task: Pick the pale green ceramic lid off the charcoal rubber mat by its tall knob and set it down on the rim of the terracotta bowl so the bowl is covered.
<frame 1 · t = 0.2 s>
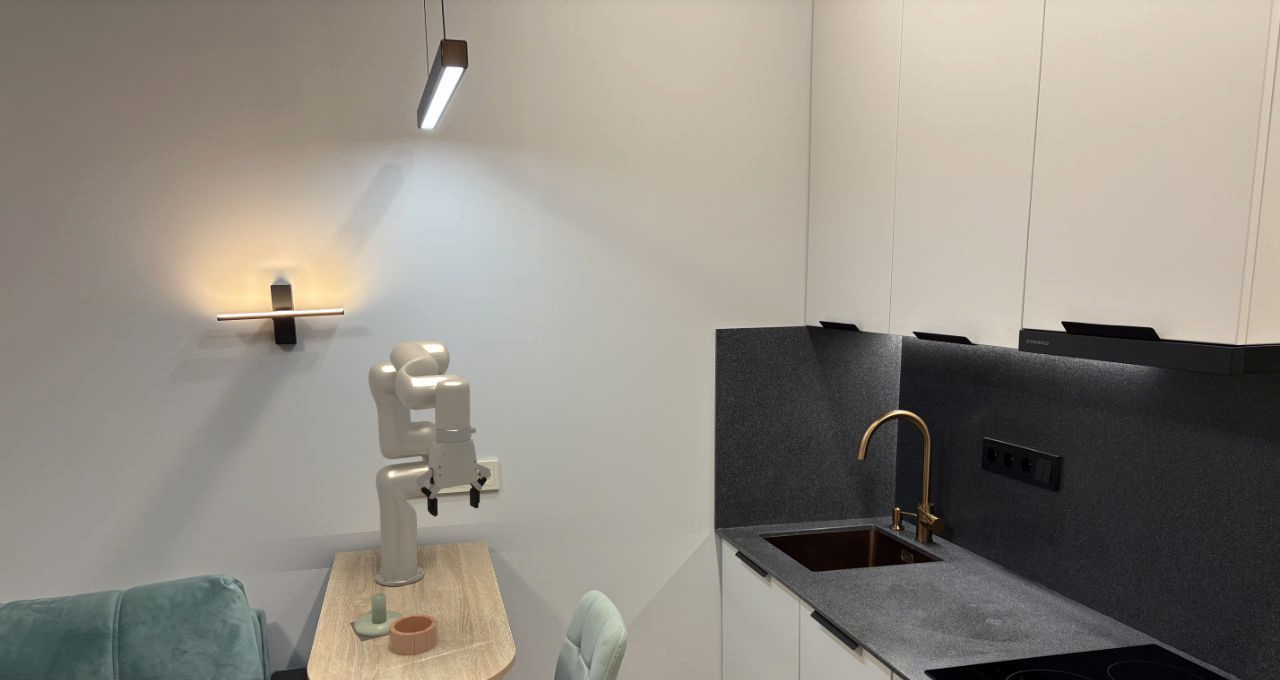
hand: (454, 510, 172), 30 cm above the table, fingers open, 9 cm apart
bowl: (413, 645, 173), on the table
mat: (379, 627, 182), on the table
lid: (379, 625, 181), resting on mat
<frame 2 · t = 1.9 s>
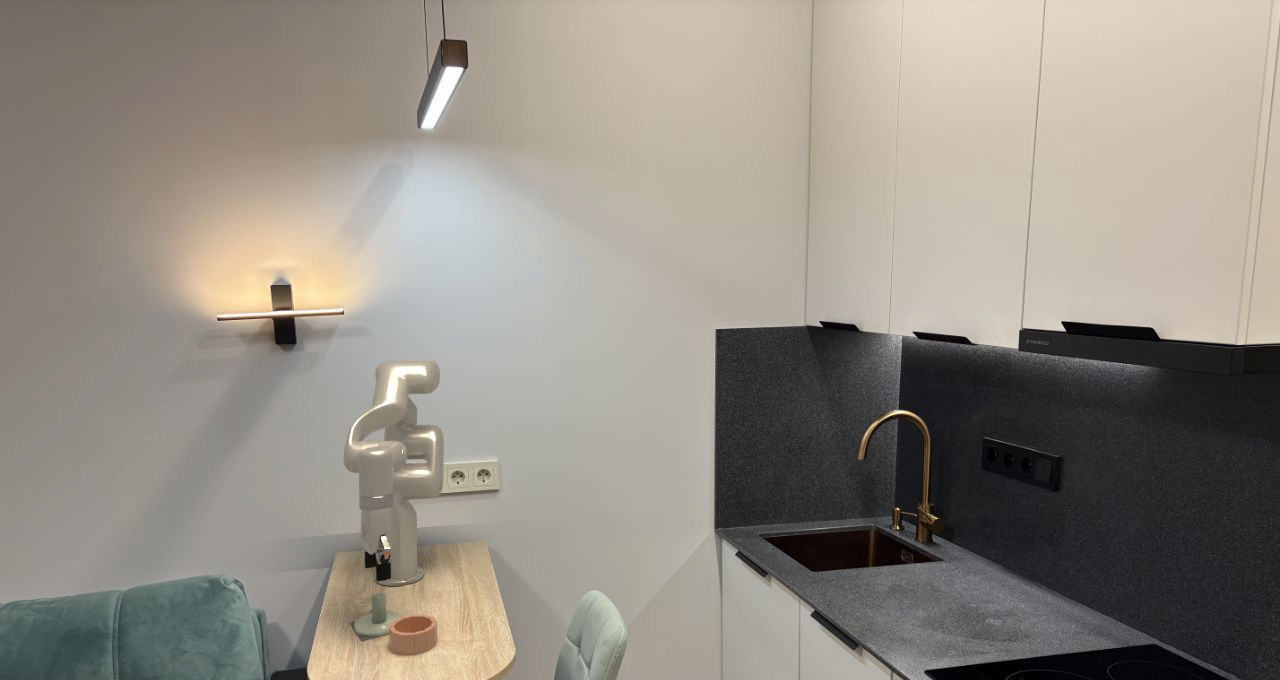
hand: (377, 573, 180), 13 cm above the table, fingers open, 9 cm apart
nothing on the table moved.
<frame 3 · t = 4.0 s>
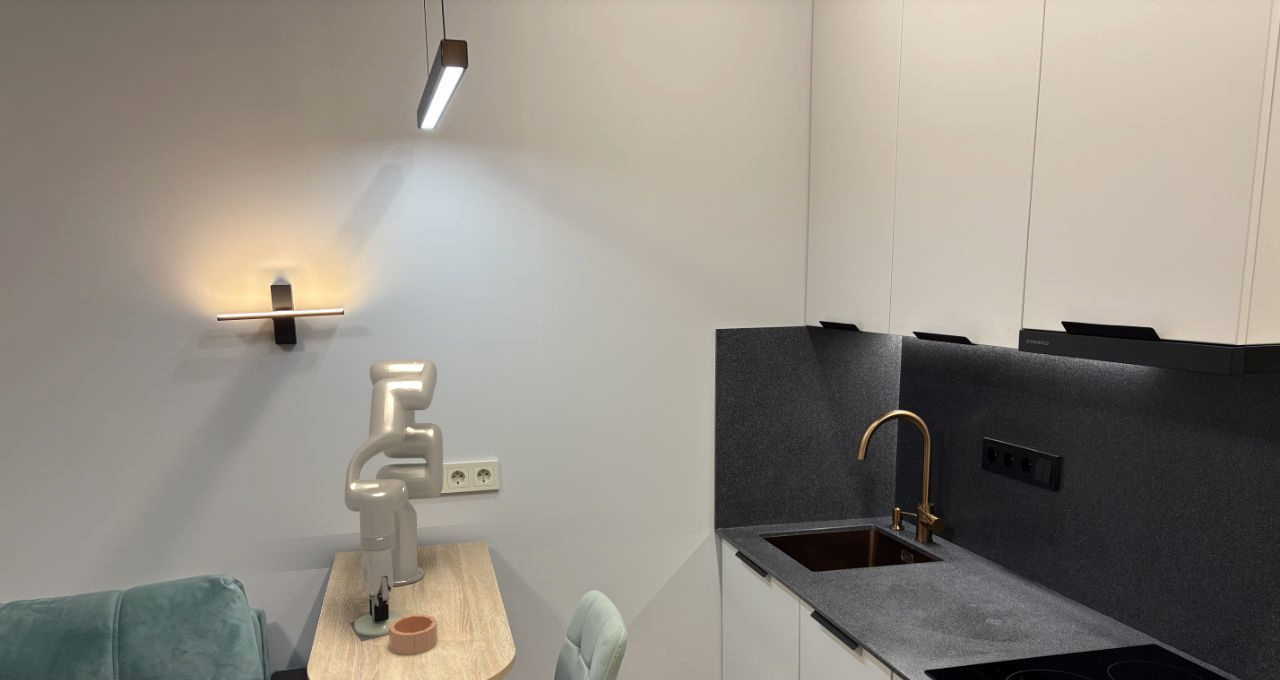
hand: (379, 616, 181), 3 cm above the table, fingers closed on lid, 3 cm apart
lid: (379, 625, 181), point 1 cm above the table, touching gripper, mat
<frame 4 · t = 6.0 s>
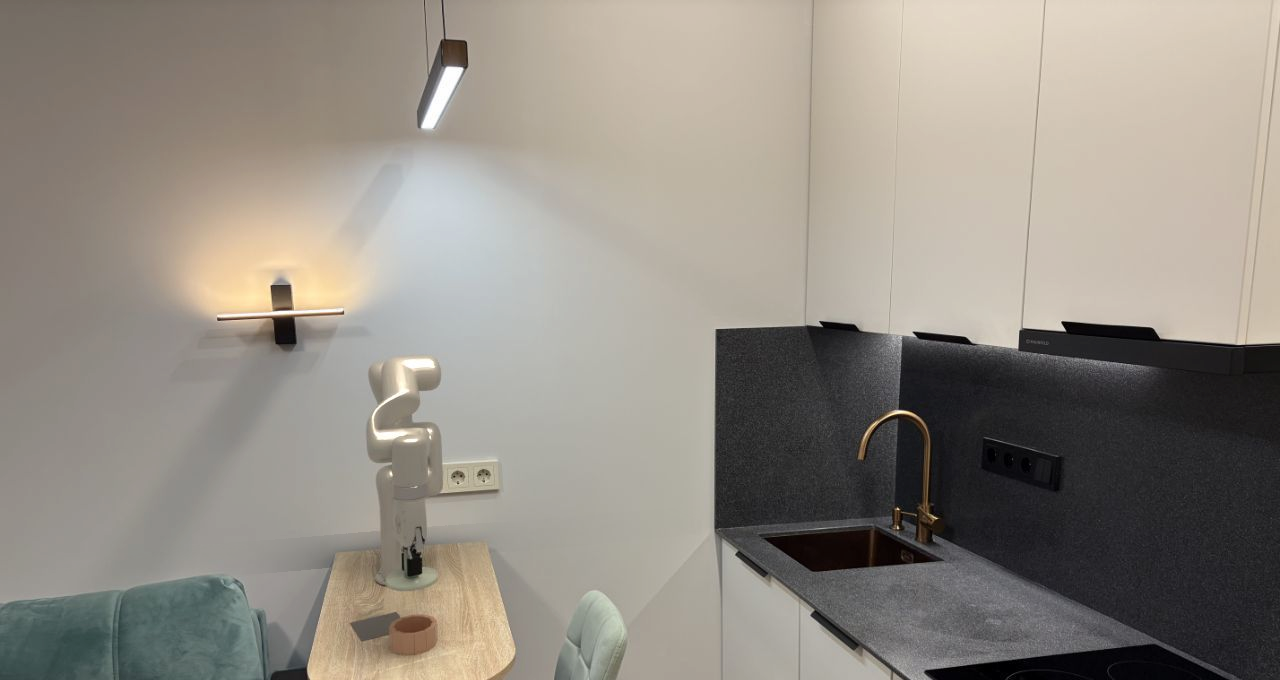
hand: (411, 571, 171), 17 cm above the table, fingers closed on lid, 3 cm apart
lid: (411, 581, 172), point 15 cm above the table, touching gripper
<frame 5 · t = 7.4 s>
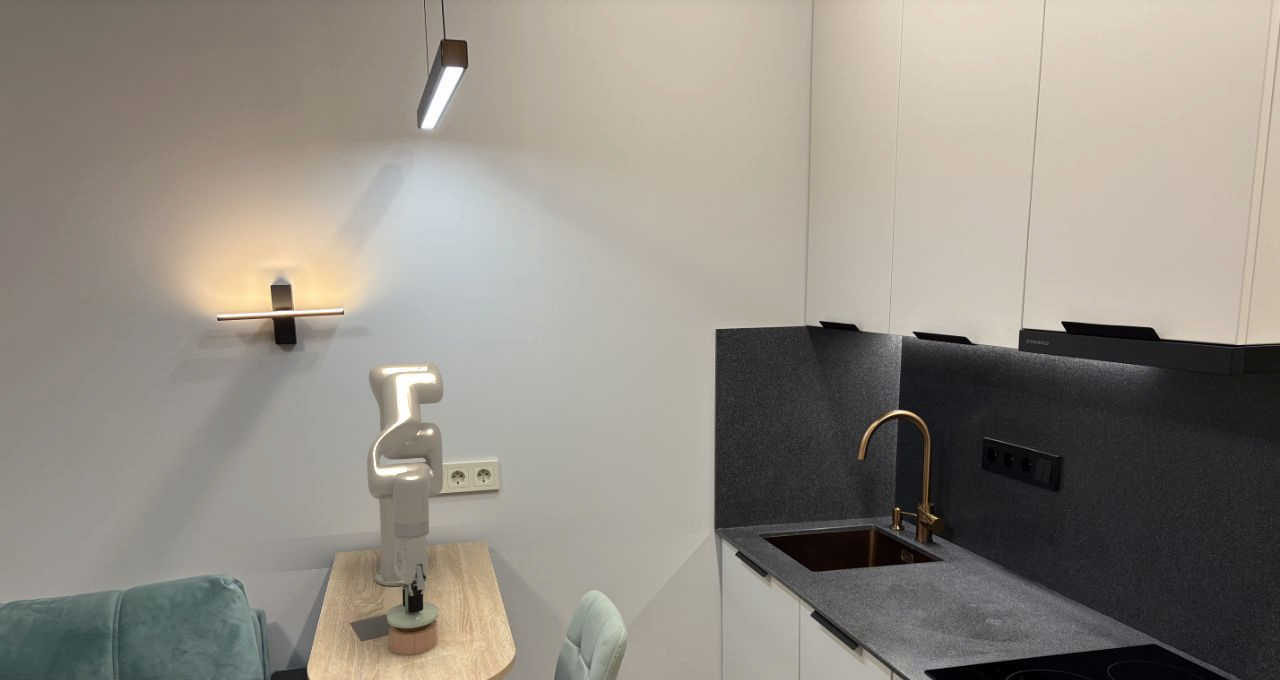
hand: (412, 607, 172), 9 cm above the table, fingers closed on lid, 3 cm apart
lid: (412, 617, 172), point 7 cm above the table, touching gripper
when the fingers open (8 cm above the table, at t = 8.2 s): lid stays where it is, resting on bowl.
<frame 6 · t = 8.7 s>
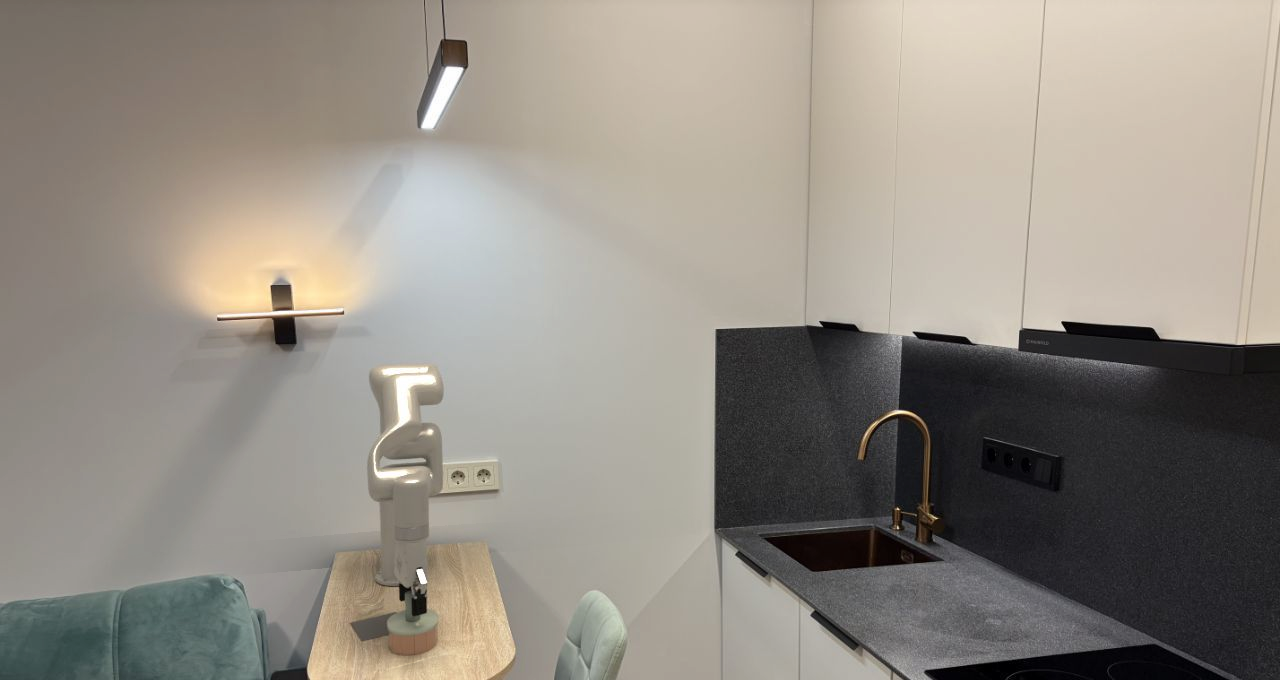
hand: (412, 606, 172), 9 cm above the table, fingers open, 8 cm apart
lid: (413, 624, 173), point 5 cm above the table, touching bowl
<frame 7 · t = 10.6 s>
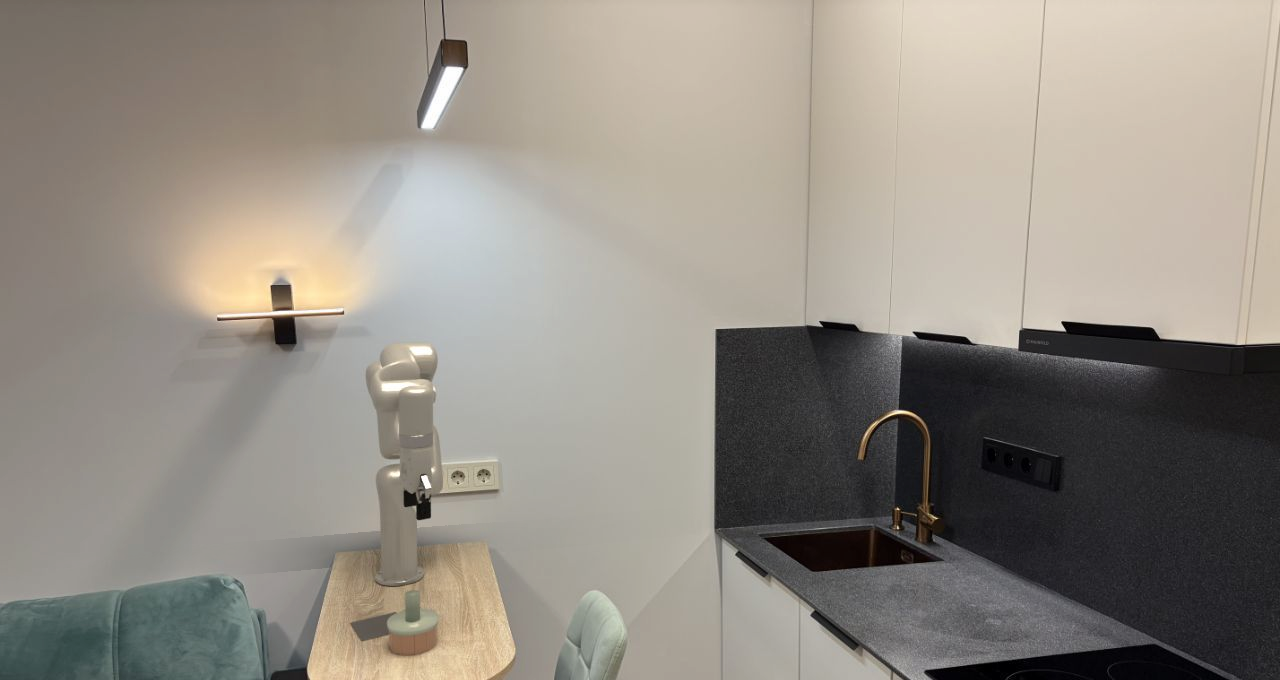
hand: (417, 512, 178), 28 cm above the table, fingers open, 9 cm apart
nothing on the table moved.
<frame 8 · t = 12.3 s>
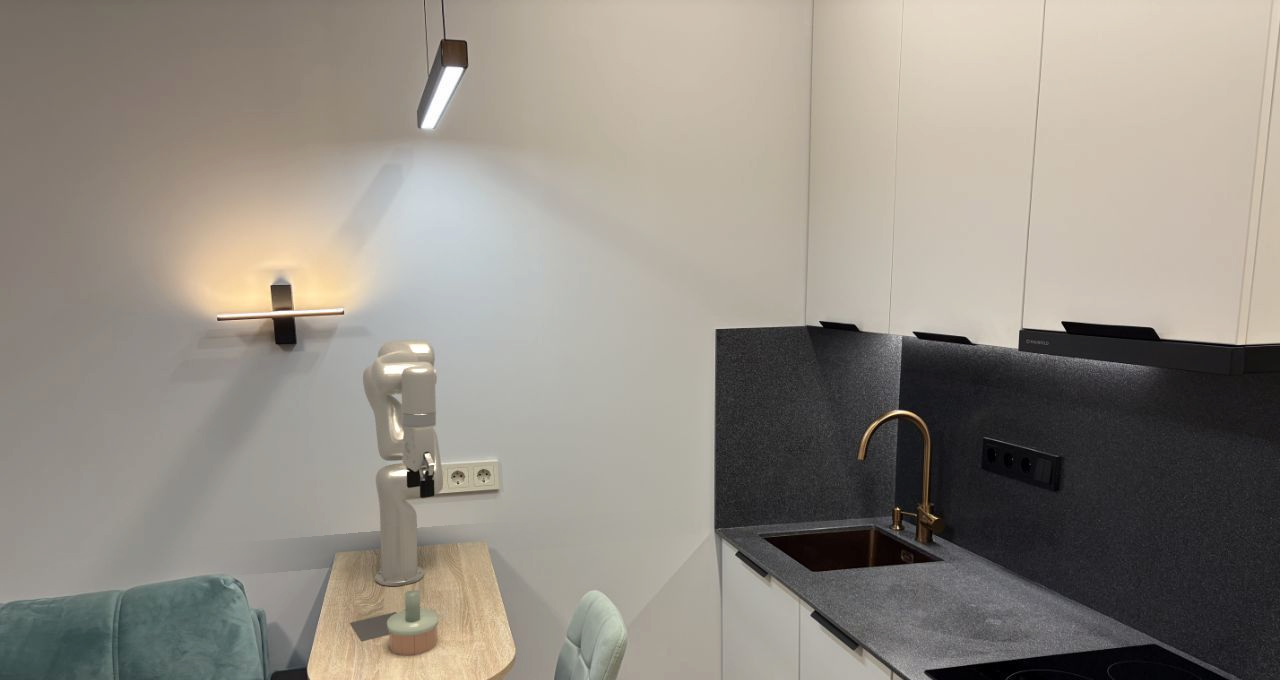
hand: (420, 491, 180), 32 cm above the table, fingers open, 9 cm apart
nothing on the table moved.
at the end: lid 0.1 cm off-centre on the bowl, point 5.0 cm above the bowl's base; lid tilted 0°; the gripper is holding nothing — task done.
